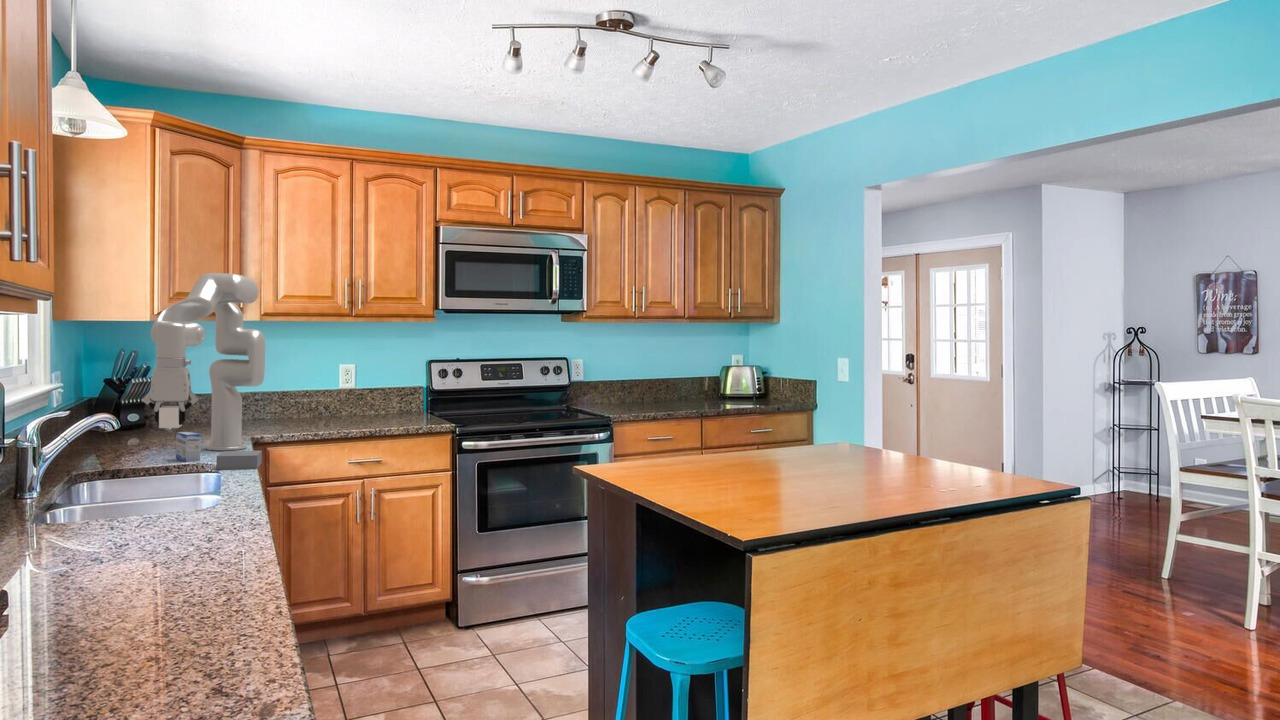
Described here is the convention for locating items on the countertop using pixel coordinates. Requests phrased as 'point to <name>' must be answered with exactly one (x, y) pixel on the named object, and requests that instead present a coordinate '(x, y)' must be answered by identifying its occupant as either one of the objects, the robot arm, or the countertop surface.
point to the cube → (169, 417)
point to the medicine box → (188, 446)
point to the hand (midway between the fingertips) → (170, 423)
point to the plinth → (239, 460)
